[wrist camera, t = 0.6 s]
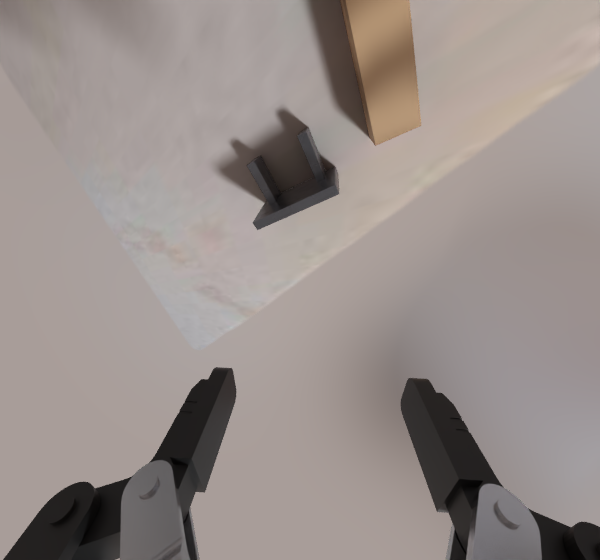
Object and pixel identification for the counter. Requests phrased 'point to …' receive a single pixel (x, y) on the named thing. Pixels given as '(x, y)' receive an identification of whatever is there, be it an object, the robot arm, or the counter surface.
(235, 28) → the counter surface
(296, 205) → the cup bracket
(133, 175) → the counter surface
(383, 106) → the rail
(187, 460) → the robot arm
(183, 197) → the counter surface
